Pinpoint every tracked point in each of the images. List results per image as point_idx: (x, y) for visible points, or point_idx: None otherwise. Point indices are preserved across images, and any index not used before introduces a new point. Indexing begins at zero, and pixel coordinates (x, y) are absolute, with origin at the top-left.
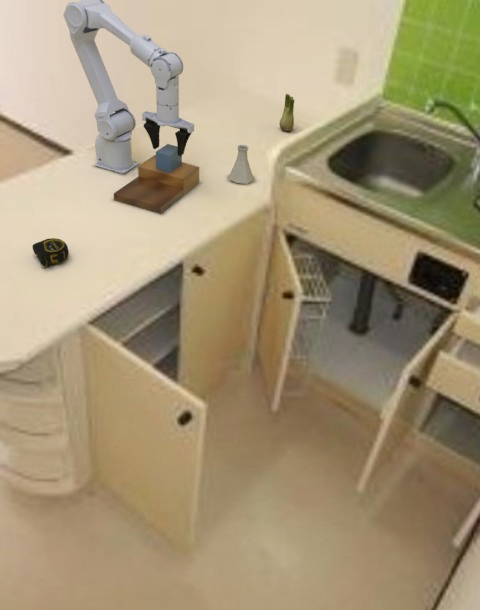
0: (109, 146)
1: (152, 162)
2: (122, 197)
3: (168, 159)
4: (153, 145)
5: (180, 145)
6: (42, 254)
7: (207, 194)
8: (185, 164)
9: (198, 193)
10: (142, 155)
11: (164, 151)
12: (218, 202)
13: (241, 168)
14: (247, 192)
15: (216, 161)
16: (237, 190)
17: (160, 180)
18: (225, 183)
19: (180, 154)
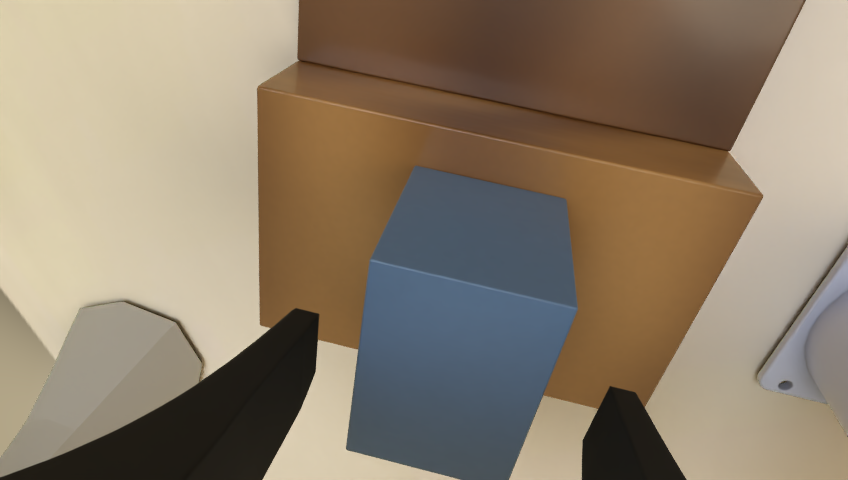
0: None
1: (630, 301)
2: None
3: (405, 236)
4: (635, 418)
5: (200, 391)
6: None
7: (191, 126)
8: None
9: (246, 119)
10: (744, 472)
11: (474, 340)
12: (72, 39)
13: (64, 379)
14: (29, 226)
15: (334, 475)
16: (83, 232)
17: (509, 112)
18: (180, 288)
19: (282, 320)
